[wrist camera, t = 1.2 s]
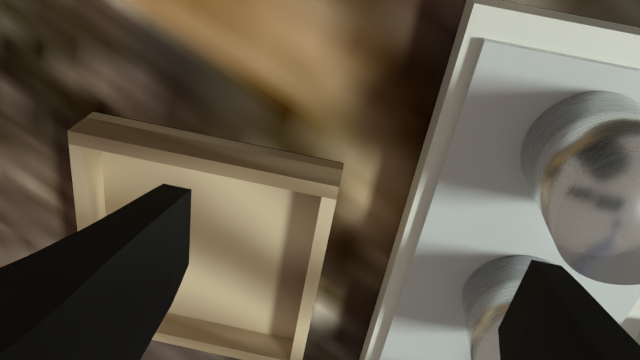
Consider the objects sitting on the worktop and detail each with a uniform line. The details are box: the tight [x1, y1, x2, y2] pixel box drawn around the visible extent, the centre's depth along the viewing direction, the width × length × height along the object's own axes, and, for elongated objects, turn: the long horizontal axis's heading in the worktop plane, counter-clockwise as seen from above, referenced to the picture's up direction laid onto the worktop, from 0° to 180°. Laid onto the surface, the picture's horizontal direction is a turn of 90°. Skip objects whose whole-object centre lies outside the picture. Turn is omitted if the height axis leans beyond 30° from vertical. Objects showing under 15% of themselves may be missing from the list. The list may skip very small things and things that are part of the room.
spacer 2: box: [521, 91, 640, 285], centre depth 16 cm, size 4×4×4 cm
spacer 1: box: [462, 255, 554, 360], centre depth 19 cm, size 4×4×4 cm
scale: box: [359, 0, 640, 360], centre depth 19 cm, size 22×13×8 cm, turn 171°
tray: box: [67, 112, 344, 360], centre depth 24 cm, size 11×11×2 cm
